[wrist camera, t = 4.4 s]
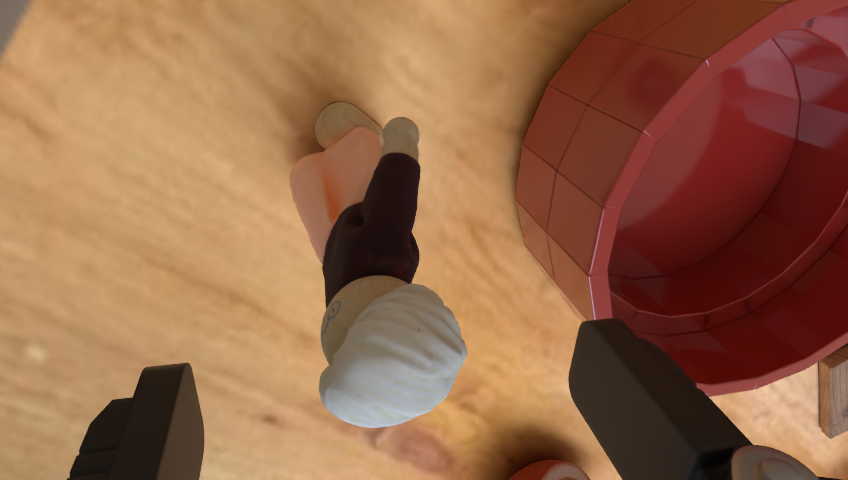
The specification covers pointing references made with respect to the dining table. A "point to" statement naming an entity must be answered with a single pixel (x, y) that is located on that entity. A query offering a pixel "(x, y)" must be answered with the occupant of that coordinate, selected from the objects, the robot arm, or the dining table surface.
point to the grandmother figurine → (373, 272)
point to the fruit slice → (550, 471)
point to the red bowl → (700, 183)
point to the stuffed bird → (834, 392)
